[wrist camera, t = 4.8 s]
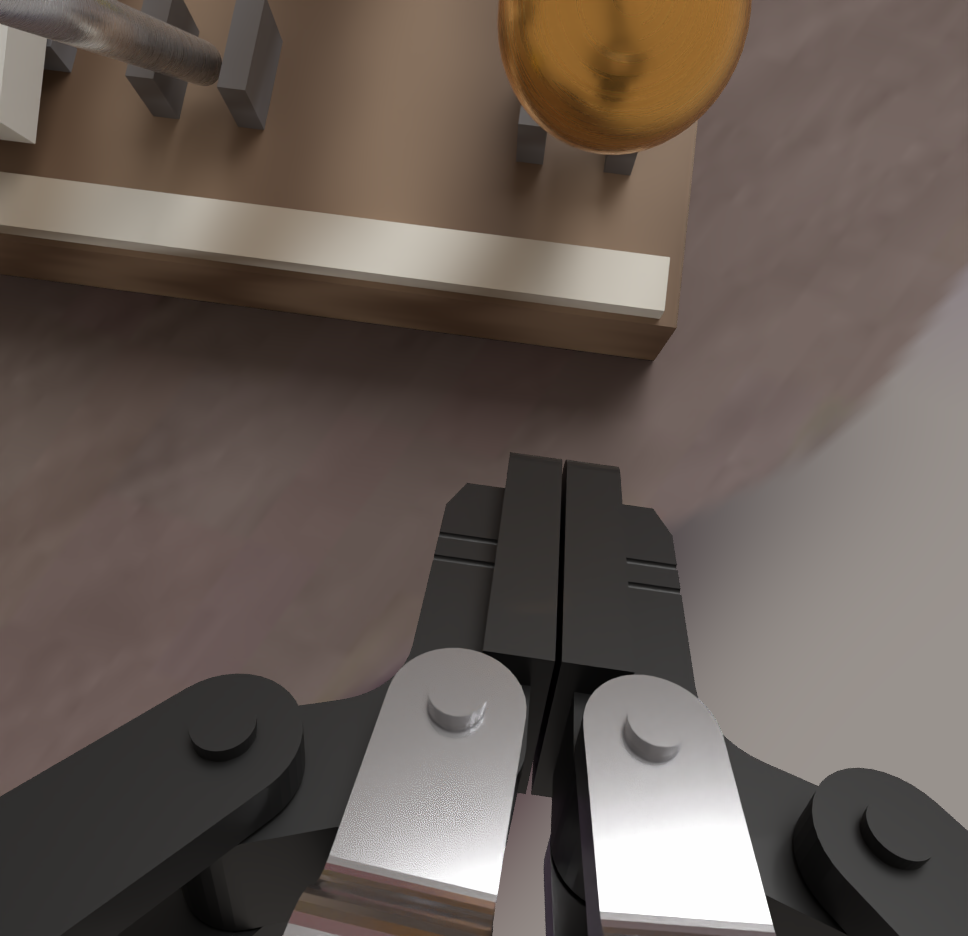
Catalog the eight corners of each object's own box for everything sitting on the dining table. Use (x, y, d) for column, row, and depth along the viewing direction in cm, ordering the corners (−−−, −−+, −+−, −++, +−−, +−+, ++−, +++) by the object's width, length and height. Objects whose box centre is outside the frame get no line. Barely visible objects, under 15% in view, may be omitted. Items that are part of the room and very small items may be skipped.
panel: (-94, 261, 25) (-229, 184, 21) (-5, -48, 27) (-109, -185, 23) (653, 360, 24) (693, 303, 20) (688, 33, 26) (732, -89, 22)
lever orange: (514, 166, 22) (472, 131, 9) (531, 34, 21) (507, -207, 8) (631, 180, 22) (745, 164, 9) (653, 49, 21) (819, -171, 8)
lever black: (146, 120, 22) (-367, 26, 10) (141, -12, 21) (-449, -312, 9) (258, 134, 22) (-114, 57, 10) (260, 2, 21) (-161, -280, 9)
